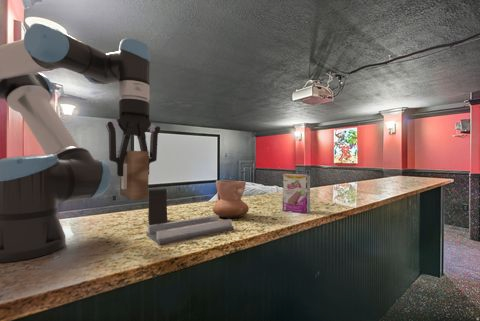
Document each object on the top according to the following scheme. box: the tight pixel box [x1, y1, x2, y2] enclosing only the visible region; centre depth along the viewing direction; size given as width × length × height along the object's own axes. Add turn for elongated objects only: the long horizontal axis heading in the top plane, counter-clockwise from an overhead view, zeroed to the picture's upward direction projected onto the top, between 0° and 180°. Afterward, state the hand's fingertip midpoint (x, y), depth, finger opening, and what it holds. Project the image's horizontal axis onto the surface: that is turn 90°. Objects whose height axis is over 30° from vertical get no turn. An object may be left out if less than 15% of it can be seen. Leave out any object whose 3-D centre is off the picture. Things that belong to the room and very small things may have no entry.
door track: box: [146, 214, 235, 246], centre depth 76 cm, size 24×11×3 cm, turn 128°
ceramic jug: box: [212, 179, 249, 219], centre depth 100 cm, size 18×14×14 cm
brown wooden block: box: [119, 150, 150, 201], centre depth 66 cm, size 4×12×12 cm, turn 38°
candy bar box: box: [282, 173, 311, 214], centre depth 108 cm, size 11×5×16 cm, turn 58°
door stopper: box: [147, 188, 168, 225], centre depth 89 cm, size 9×6×12 cm, turn 22°
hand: (133, 188), depth 66 cm, fingers closed on brown wooden block, 4 cm apart
